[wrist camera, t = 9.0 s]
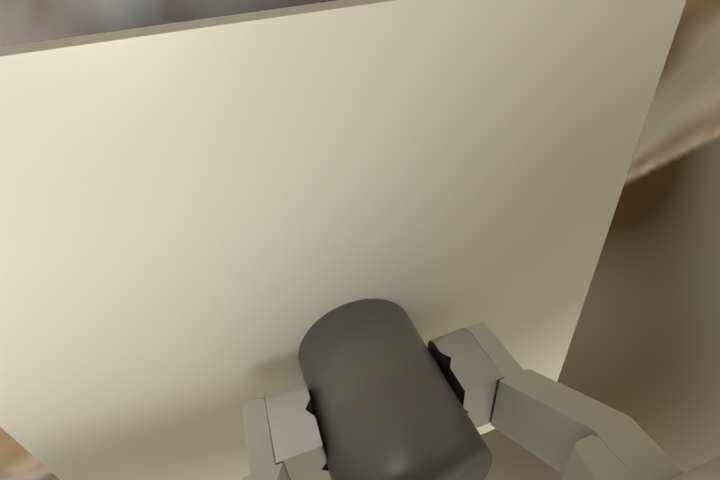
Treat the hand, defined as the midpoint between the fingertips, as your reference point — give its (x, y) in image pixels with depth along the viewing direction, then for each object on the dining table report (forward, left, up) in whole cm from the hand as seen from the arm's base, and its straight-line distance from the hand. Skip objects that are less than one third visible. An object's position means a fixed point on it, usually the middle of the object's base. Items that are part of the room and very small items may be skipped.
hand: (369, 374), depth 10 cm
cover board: (0, 0, -2) cm, 2 cm away
